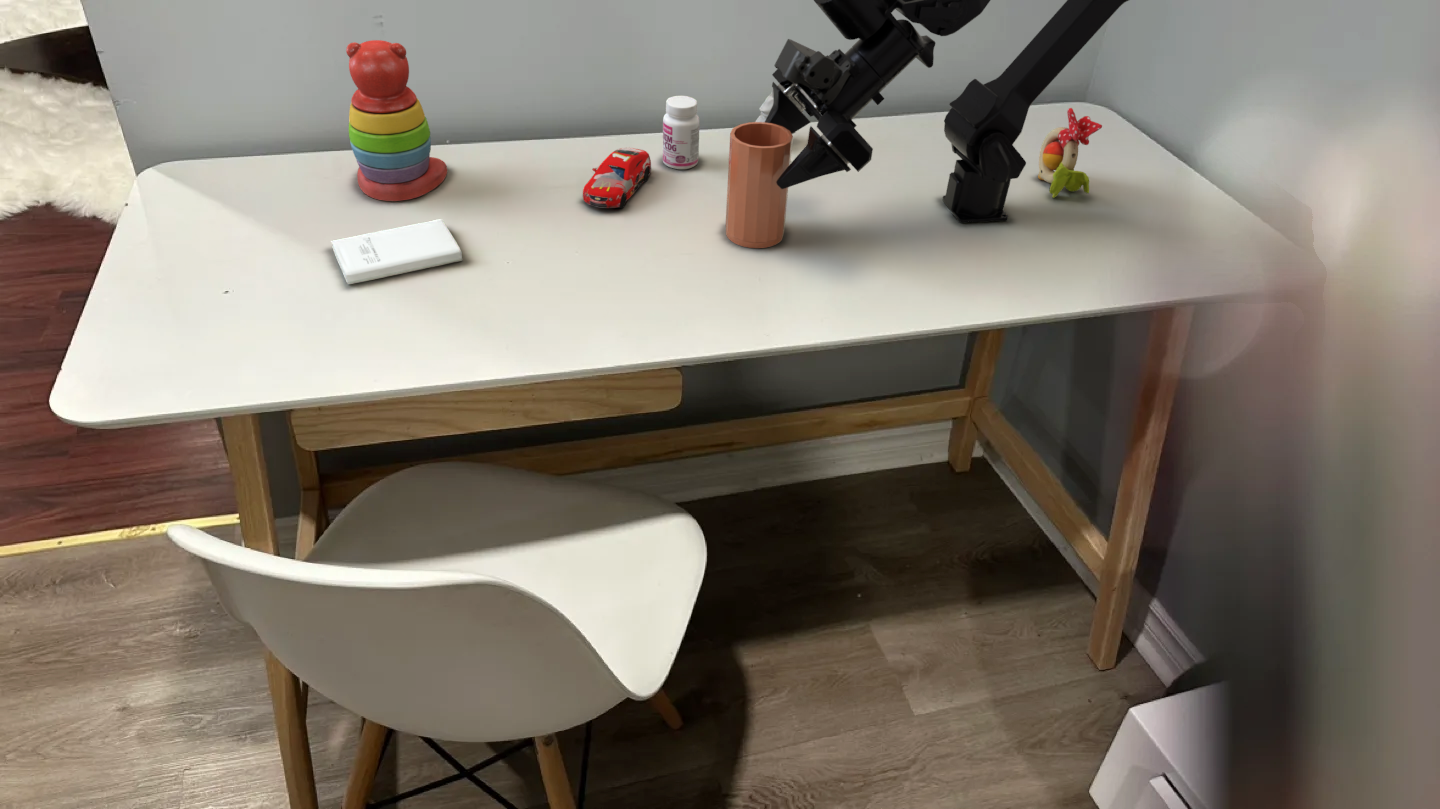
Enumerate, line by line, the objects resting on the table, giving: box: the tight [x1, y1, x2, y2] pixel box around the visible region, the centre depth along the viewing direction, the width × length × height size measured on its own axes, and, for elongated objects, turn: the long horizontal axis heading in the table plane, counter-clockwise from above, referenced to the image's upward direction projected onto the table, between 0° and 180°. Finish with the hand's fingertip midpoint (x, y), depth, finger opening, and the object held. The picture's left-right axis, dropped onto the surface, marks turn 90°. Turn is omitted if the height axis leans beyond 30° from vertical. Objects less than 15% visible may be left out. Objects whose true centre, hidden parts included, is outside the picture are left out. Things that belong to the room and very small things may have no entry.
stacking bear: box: [345, 39, 448, 202], centre depth 119 cm, size 11×10×18 cm
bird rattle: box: [1037, 107, 1103, 199], centre depth 129 cm, size 6×11×9 cm
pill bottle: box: [662, 95, 701, 170], centre depth 130 cm, size 5×5×8 cm
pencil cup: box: [725, 121, 794, 249], centre depth 115 cm, size 7×7×12 cm
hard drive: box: [330, 218, 463, 285], centre depth 111 cm, size 2×8×12 cm
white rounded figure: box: [755, 87, 796, 135], centre depth 137 cm, size 5×7×8 cm
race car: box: [582, 147, 652, 209], centre depth 125 cm, size 13×5×4 cm, turn 161°
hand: (765, 168), depth 114 cm, fingers open, 9 cm apart
